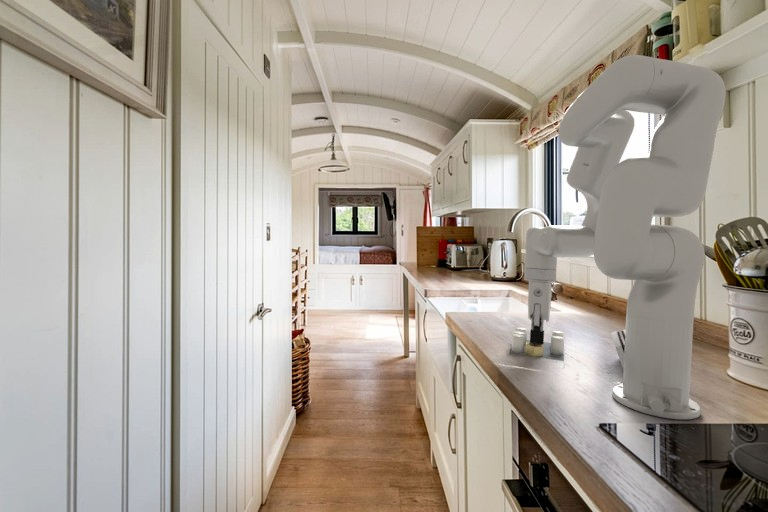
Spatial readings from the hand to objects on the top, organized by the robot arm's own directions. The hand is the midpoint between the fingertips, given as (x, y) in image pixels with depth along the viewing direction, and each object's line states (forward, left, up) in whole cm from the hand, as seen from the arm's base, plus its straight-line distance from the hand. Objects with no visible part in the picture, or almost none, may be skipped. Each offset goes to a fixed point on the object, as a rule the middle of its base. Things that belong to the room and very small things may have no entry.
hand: (536, 345), depth 97 cm
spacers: (+2, 0, -2) cm, 2 cm away
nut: (-4, 0, -1) cm, 4 cm away
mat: (+2, 0, -2) cm, 2 cm away
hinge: (-4, -20, -2) cm, 21 cm away
